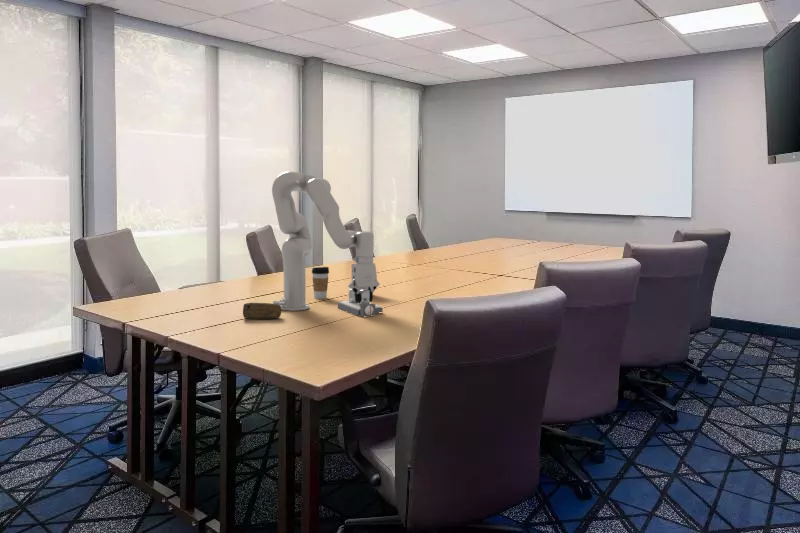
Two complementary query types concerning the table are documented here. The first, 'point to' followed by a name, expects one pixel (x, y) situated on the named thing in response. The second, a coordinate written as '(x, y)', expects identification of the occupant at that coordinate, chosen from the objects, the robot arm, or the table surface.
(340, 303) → the scale
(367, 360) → the table surface
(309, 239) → the robot arm
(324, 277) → the coffee cup
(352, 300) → the cylinder
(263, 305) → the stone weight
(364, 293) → the cylinder
